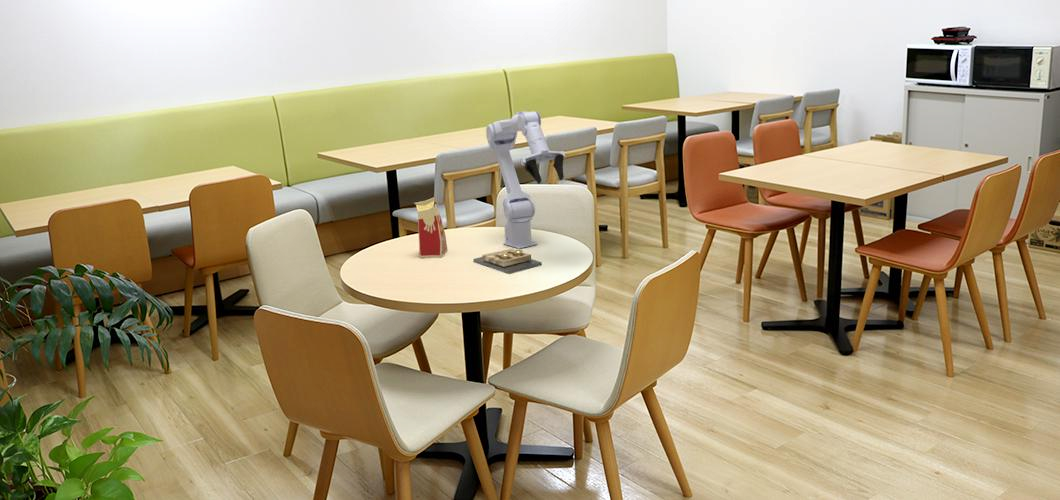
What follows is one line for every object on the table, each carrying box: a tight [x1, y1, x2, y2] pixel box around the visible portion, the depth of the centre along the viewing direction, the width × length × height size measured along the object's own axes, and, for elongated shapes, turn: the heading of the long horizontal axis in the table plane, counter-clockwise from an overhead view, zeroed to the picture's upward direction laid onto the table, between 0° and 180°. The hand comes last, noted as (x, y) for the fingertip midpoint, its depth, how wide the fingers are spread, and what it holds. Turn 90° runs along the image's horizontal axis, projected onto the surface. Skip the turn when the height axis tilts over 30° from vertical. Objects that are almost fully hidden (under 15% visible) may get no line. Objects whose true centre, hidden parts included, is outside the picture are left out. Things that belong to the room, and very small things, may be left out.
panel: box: [481, 248, 532, 267], centre depth 293 cm, size 12×11×2 cm
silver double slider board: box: [472, 249, 543, 275], centre depth 293 cm, size 20×13×4 cm, turn 37°
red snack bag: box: [413, 196, 448, 259], centre depth 307 cm, size 9×9×20 cm
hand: (551, 180), depth 283 cm, fingers open, 7 cm apart
